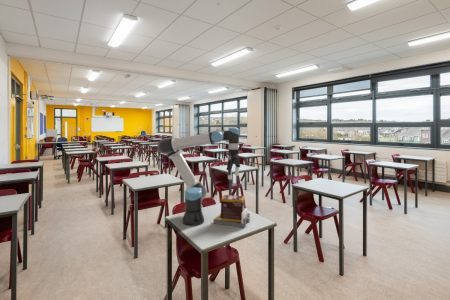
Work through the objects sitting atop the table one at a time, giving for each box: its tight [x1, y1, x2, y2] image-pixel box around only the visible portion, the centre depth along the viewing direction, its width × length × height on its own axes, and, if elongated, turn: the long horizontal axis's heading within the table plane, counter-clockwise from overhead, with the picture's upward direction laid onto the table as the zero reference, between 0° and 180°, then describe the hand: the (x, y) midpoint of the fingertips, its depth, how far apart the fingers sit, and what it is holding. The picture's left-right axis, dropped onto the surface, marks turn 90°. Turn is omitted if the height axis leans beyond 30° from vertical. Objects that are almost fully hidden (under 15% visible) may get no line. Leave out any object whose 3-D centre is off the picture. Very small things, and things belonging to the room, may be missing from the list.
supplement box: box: [220, 194, 246, 222], centre depth 172 cm, size 10×15×16 cm
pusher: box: [241, 207, 251, 224], centre depth 169 cm, size 4×11×9 cm, turn 158°
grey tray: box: [212, 212, 251, 229], centre depth 173 cm, size 23×13×6 cm, turn 68°
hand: (233, 177), depth 180 cm, fingers open, 13 cm apart
